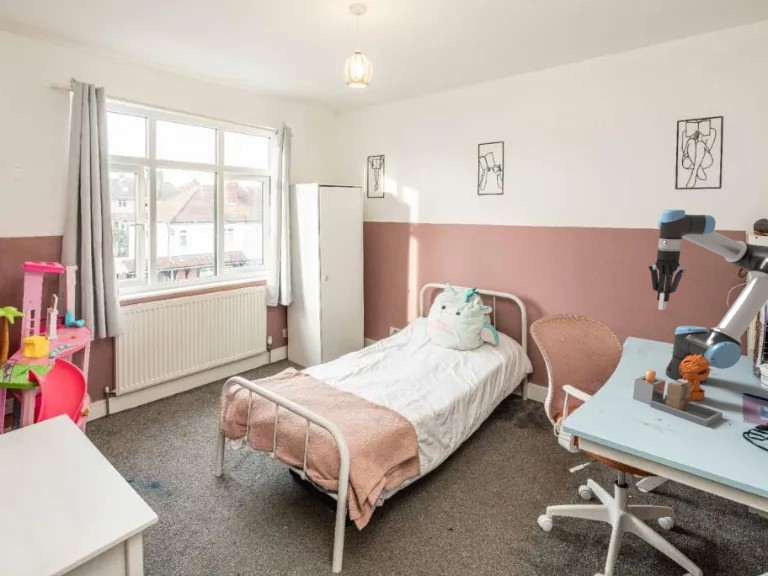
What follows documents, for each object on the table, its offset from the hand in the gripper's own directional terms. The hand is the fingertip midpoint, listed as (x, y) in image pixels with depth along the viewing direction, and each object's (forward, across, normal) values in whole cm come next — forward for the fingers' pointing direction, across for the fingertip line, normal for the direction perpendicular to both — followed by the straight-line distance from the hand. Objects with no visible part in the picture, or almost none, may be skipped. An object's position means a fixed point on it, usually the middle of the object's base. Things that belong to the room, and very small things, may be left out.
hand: (661, 309), depth 184 cm
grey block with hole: (+34, +4, -10) cm, 36 cm away
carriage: (+34, +14, -10) cm, 39 cm away
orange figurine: (+35, +12, +6) cm, 37 cm away
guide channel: (+34, +16, -10) cm, 39 cm away
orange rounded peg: (+29, +3, -10) cm, 31 cm away
